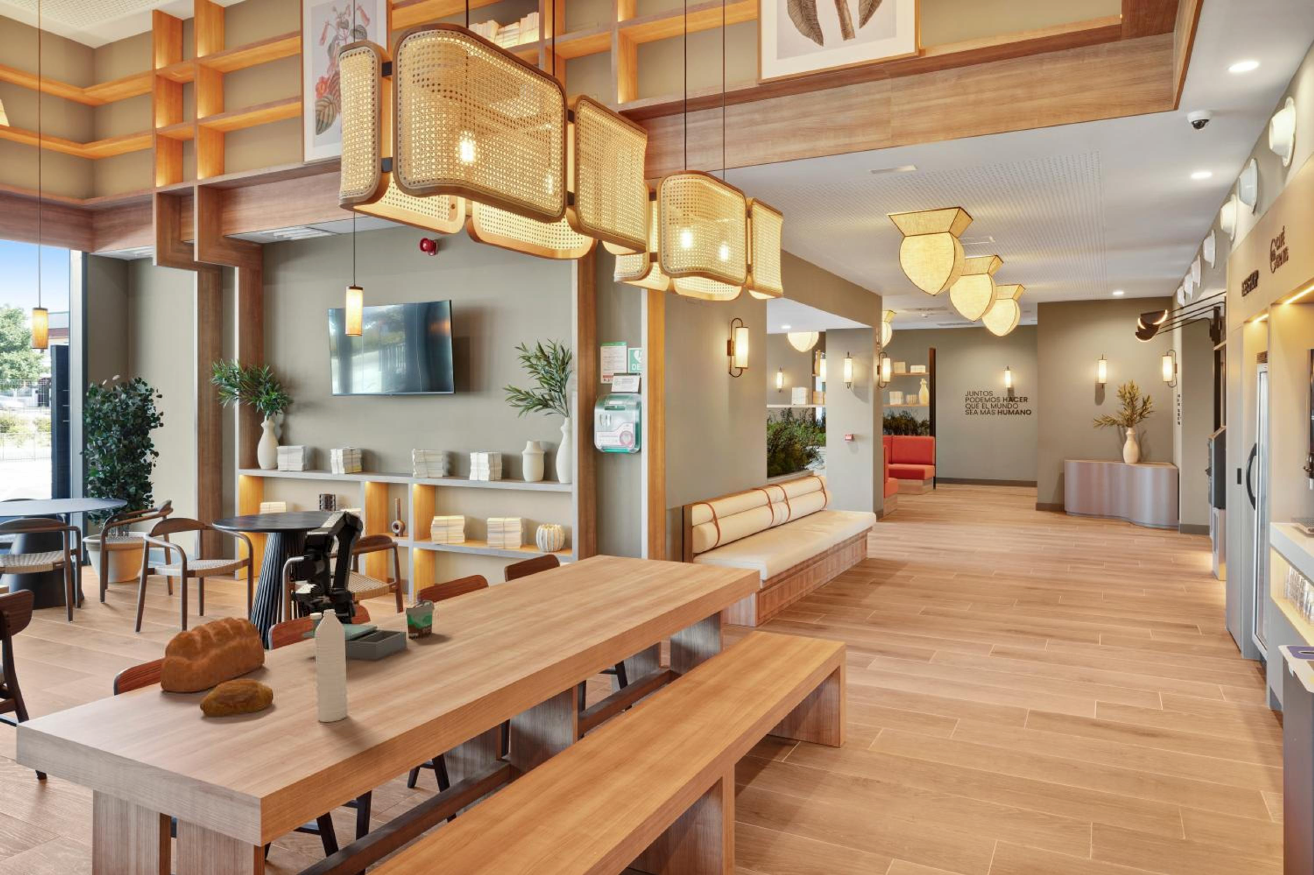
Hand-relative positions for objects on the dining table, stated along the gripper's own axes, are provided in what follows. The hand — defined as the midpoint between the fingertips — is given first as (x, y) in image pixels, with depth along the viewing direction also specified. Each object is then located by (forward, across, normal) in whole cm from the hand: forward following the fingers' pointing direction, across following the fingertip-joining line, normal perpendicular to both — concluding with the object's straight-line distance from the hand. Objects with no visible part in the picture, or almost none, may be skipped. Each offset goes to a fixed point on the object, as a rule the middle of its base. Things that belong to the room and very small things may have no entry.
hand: (322, 624), depth 255 cm
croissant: (+8, +18, -49) cm, 53 cm away
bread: (+8, -8, -32) cm, 34 cm away
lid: (+2, +7, 0) cm, 7 cm away
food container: (+8, +21, +22) cm, 31 cm away
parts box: (+8, +17, 0) cm, 18 cm away
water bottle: (+8, +45, -50) cm, 68 cm away
